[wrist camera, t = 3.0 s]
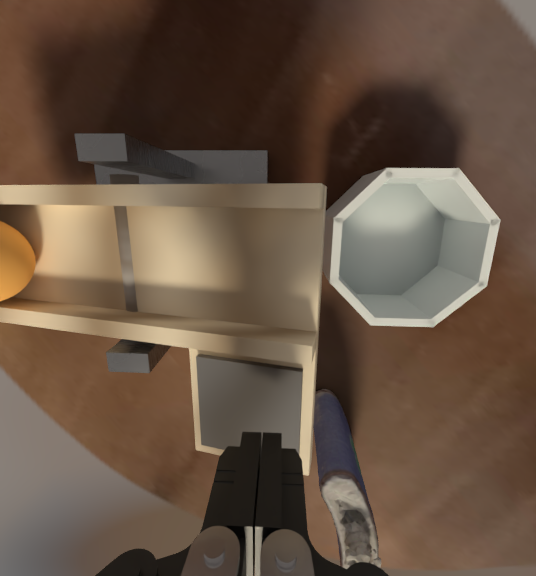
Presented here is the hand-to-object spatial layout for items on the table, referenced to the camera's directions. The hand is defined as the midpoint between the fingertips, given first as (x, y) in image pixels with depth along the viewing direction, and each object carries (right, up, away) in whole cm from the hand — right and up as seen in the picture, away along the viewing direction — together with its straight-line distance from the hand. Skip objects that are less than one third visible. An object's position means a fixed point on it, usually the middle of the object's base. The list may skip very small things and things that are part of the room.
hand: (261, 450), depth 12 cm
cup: (+9, +10, +11) cm, 17 cm away
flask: (+6, -7, +16) cm, 18 cm away
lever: (-6, +5, +4) cm, 9 cm away
